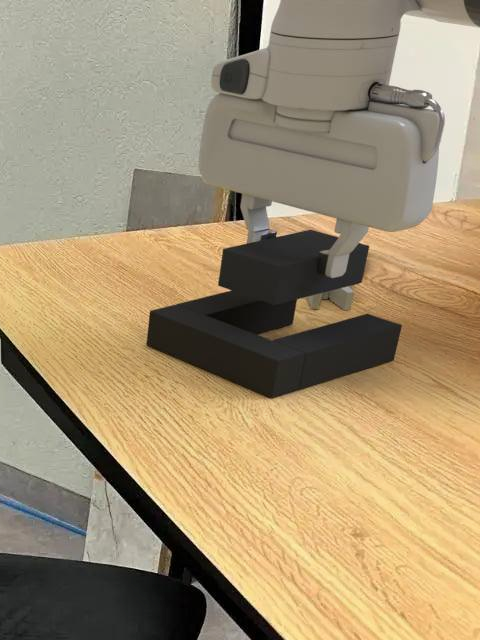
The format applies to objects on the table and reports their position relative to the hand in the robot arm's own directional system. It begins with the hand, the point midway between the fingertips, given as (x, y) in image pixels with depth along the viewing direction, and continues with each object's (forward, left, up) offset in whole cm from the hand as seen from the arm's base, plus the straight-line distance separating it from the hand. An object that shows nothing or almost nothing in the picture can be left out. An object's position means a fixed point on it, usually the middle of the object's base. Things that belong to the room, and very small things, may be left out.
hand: (293, 263), depth 91 cm
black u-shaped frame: (+1, 0, -7) cm, 7 cm away
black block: (0, 0, -2) cm, 2 cm away
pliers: (-16, -10, -7) cm, 20 cm away
